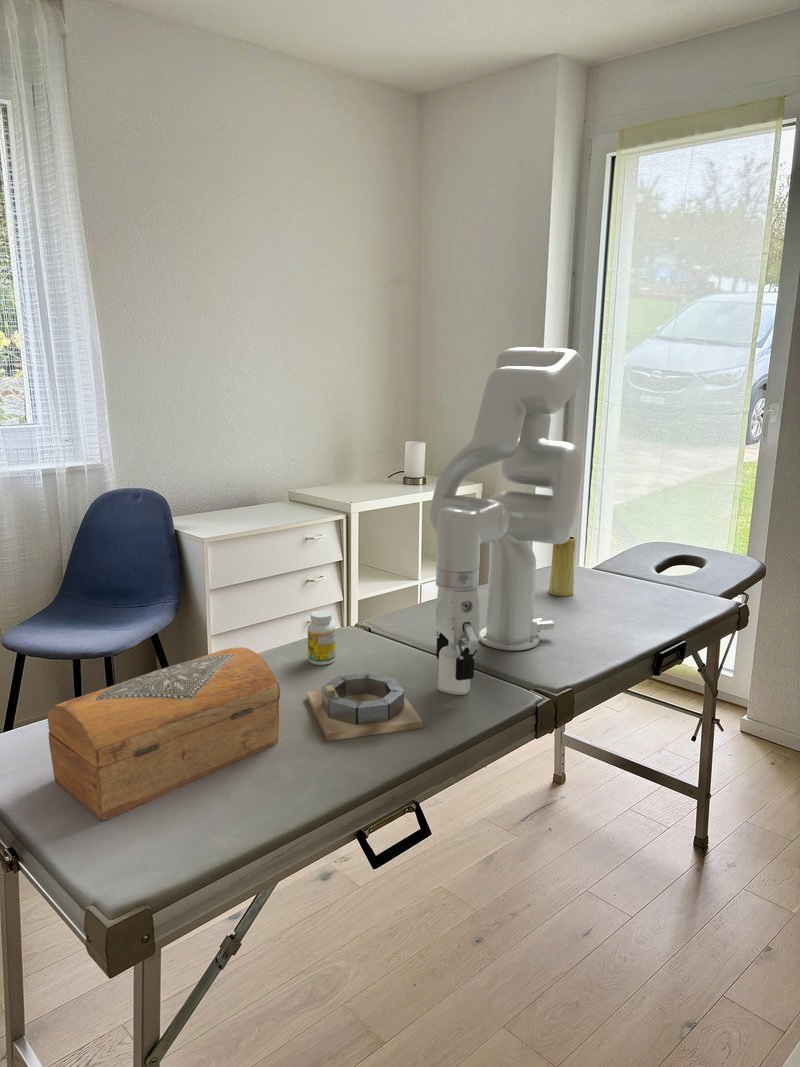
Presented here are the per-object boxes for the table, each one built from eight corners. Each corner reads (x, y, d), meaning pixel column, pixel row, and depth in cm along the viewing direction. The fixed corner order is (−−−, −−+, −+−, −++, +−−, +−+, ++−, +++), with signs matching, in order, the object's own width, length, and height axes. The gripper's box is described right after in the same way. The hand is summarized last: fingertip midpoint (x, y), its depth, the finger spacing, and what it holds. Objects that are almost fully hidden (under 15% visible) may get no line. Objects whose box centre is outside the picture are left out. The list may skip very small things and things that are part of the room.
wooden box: (222, 711, 139) (219, 634, 136) (283, 745, 128) (281, 662, 125) (47, 777, 118) (38, 688, 115) (101, 825, 107) (93, 728, 104)
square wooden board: (394, 687, 149) (394, 681, 148) (422, 728, 134) (422, 721, 134) (307, 698, 144) (307, 691, 144) (326, 741, 129) (326, 734, 129)
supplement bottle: (338, 664, 159) (337, 617, 157) (310, 667, 157) (310, 619, 155) (332, 653, 164) (331, 608, 162) (305, 656, 162) (304, 610, 160)
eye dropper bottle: (456, 699, 145) (458, 635, 142) (434, 688, 149) (435, 626, 146) (473, 692, 147) (475, 629, 144) (451, 682, 151) (453, 621, 148)
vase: (575, 596, 201) (579, 540, 197) (550, 596, 201) (554, 540, 197) (570, 589, 207) (574, 534, 203) (546, 588, 207) (549, 533, 203)
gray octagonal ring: (388, 685, 147) (389, 665, 146) (411, 718, 135) (411, 695, 134) (317, 694, 143) (316, 673, 142) (333, 728, 131) (333, 705, 130)
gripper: (497, 589, 136) (493, 685, 140) (459, 561, 152) (456, 648, 156) (455, 593, 134) (451, 690, 138) (421, 564, 150) (419, 652, 154)
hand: (454, 668), depth 147 cm, fingers open, 9 cm apart
